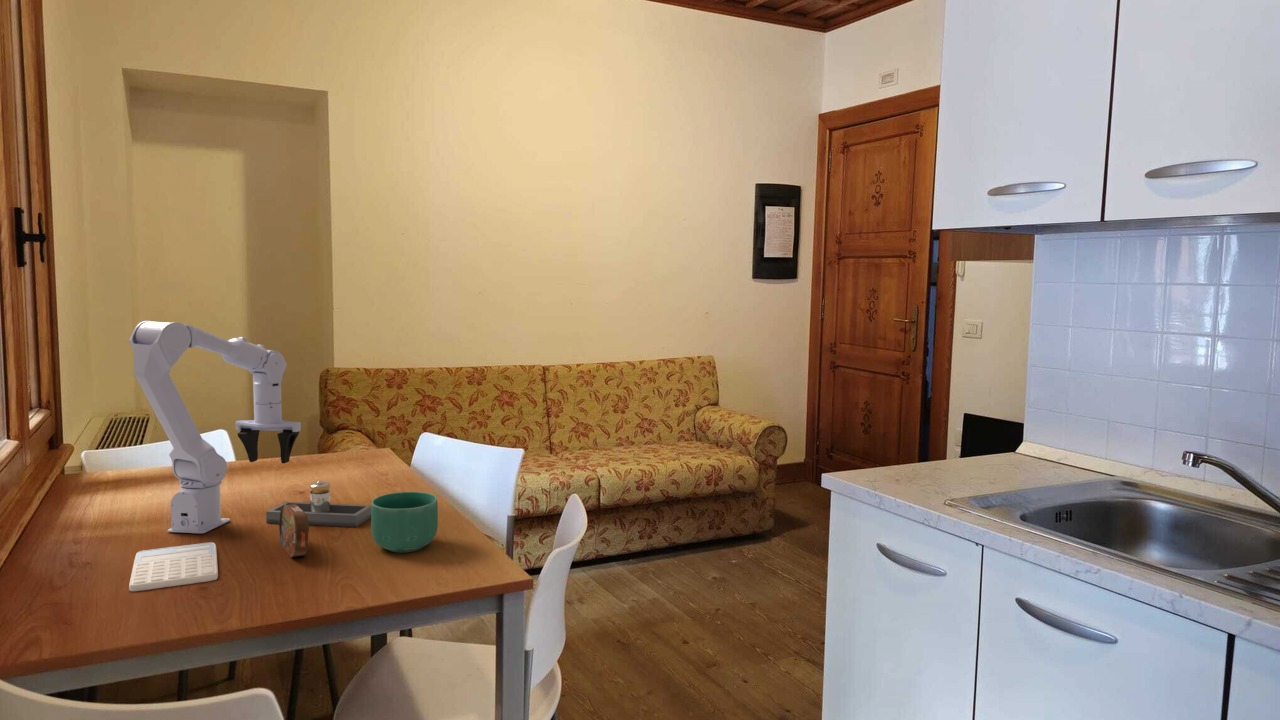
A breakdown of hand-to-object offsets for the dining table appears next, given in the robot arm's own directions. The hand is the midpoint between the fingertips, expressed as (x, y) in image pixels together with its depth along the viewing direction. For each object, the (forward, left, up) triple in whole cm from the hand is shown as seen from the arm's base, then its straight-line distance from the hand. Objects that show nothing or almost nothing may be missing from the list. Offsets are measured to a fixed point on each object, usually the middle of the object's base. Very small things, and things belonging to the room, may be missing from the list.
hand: (269, 461), depth 189 cm
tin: (-28, -21, -11) cm, 37 cm away
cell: (-8, -16, -10) cm, 20 cm away
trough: (-8, -16, -10) cm, 21 cm away
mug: (-21, -40, -11) cm, 46 cm away
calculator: (-40, -5, -11) cm, 42 cm away
